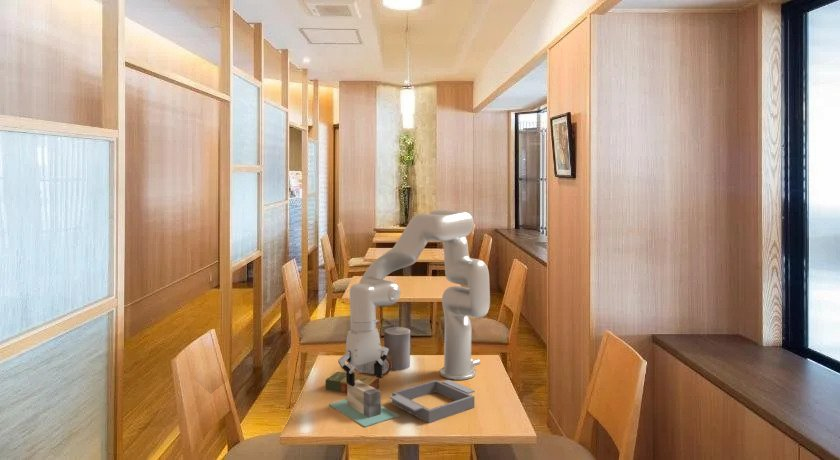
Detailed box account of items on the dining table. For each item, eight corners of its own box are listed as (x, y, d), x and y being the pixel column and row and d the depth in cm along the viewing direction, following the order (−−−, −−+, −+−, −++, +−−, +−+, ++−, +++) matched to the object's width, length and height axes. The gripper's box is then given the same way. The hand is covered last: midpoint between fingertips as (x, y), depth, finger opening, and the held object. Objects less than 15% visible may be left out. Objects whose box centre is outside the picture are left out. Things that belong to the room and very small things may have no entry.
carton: (368, 397, 183) (368, 385, 182) (324, 391, 189) (324, 378, 188) (379, 388, 191) (379, 376, 190) (337, 382, 196) (337, 370, 196)
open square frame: (442, 388, 191) (443, 377, 190) (481, 405, 177) (481, 393, 176) (384, 405, 176) (384, 394, 175) (420, 425, 162) (420, 413, 161)
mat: (361, 395, 184) (361, 394, 183) (399, 416, 168) (399, 415, 168) (329, 405, 176) (329, 404, 176) (364, 427, 160) (364, 426, 160)
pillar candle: (382, 363, 216) (381, 324, 214) (407, 361, 218) (407, 322, 216) (386, 371, 206) (386, 331, 205) (412, 369, 209) (413, 329, 207)
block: (358, 401, 178) (358, 379, 177) (380, 414, 169) (380, 391, 168) (347, 404, 175) (347, 382, 175) (369, 417, 166) (369, 394, 166)
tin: (393, 374, 204) (393, 351, 203) (390, 377, 201) (390, 354, 200) (353, 370, 207) (353, 348, 206) (350, 373, 204) (350, 350, 203)
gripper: (380, 317, 178) (381, 370, 180) (331, 328, 167) (333, 384, 169) (394, 322, 172) (395, 377, 174) (344, 334, 161) (346, 392, 163)
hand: (364, 380), depth 172 cm, fingers open, 9 cm apart
